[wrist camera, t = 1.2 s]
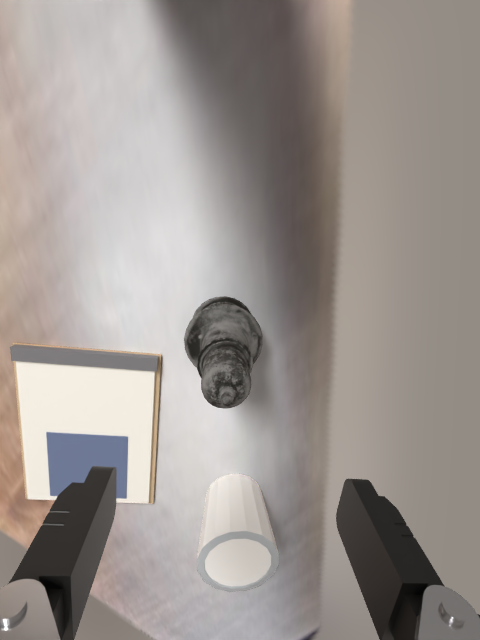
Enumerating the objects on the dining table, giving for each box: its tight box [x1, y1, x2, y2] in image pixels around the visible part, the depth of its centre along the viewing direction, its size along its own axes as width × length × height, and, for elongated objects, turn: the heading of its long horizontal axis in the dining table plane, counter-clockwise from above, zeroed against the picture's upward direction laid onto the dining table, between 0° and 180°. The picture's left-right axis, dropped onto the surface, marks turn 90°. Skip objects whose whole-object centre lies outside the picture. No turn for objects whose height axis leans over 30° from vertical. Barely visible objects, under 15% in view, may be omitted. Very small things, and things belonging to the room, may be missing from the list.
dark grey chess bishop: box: [184, 297, 262, 408], centre depth 23 cm, size 6×6×12 cm
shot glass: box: [197, 474, 279, 592], centre depth 31 cm, size 7×7×7 cm
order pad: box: [10, 343, 161, 503], centre depth 30 cm, size 16×12×1 cm
